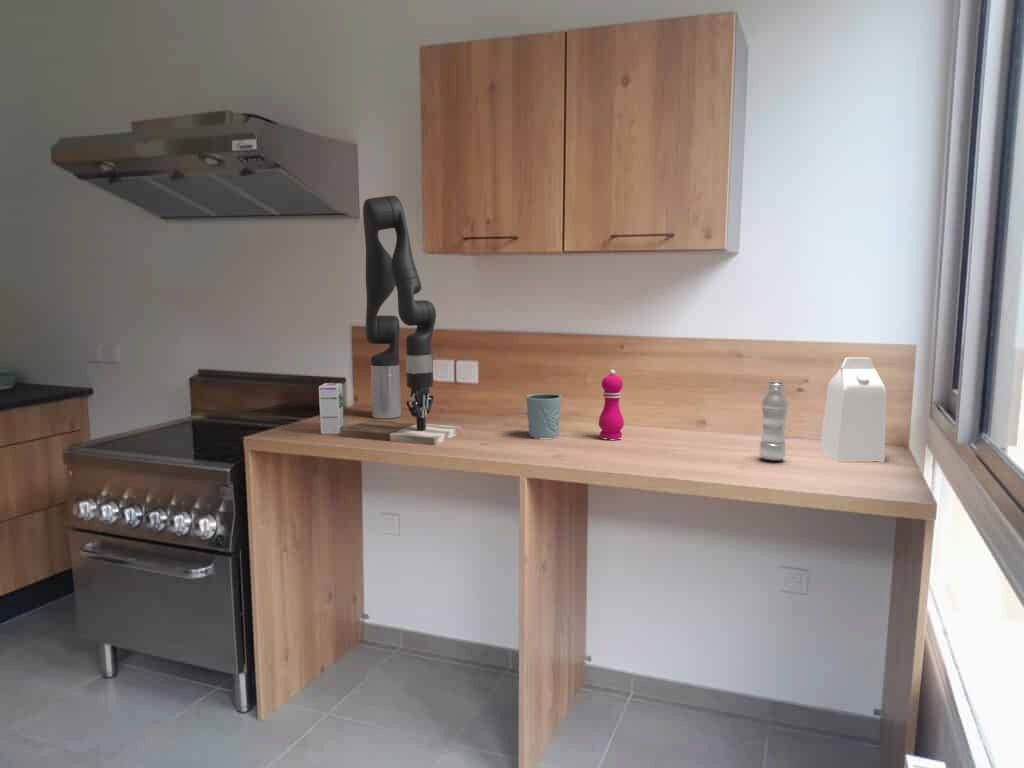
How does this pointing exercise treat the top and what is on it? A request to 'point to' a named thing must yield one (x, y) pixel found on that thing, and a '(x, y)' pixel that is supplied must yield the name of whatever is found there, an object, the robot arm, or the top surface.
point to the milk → (855, 413)
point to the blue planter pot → (543, 415)
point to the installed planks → (374, 429)
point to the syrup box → (331, 408)
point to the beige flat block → (425, 434)
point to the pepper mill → (611, 407)
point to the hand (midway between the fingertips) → (421, 430)
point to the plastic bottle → (774, 423)
